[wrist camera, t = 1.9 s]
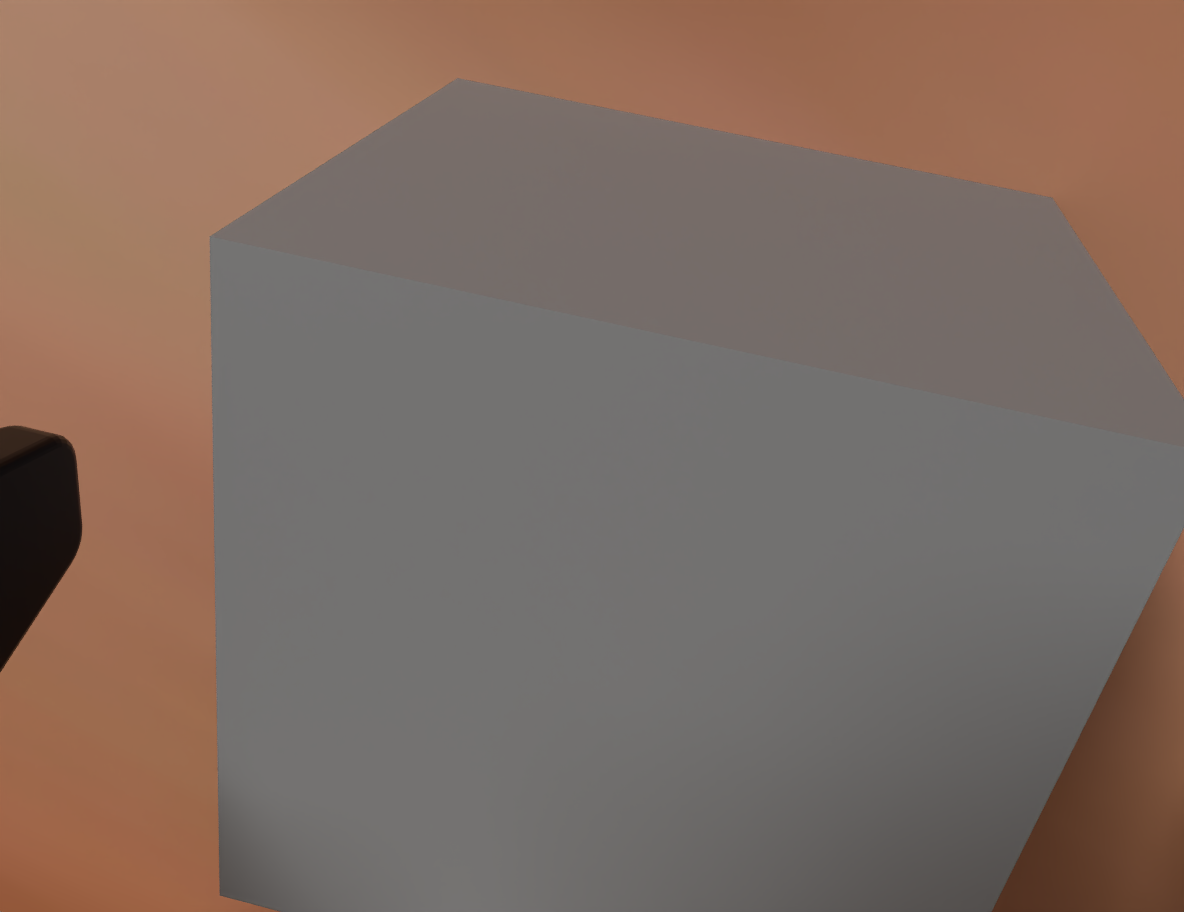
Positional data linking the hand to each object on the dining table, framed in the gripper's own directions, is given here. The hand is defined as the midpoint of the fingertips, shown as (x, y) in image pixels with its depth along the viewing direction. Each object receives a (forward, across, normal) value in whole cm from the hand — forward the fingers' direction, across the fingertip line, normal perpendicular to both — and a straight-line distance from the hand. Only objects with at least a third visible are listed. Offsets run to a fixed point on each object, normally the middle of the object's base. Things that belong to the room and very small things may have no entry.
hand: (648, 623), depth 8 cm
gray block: (+4, 0, 0) cm, 4 cm away
